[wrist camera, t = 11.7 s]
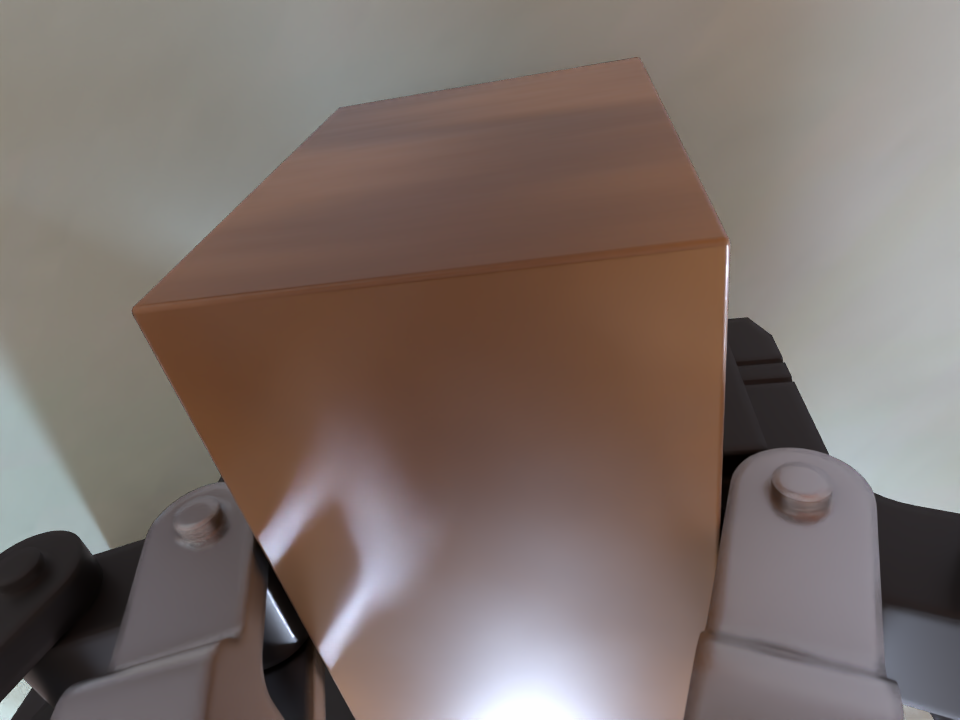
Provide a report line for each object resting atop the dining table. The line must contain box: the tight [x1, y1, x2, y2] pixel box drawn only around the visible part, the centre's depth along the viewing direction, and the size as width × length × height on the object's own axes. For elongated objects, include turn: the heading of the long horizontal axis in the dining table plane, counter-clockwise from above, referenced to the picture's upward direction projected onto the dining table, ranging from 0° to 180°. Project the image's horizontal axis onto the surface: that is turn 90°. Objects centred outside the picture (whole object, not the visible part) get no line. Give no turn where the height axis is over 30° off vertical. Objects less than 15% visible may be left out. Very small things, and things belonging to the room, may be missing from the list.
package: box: [132, 57, 731, 720], centre depth 9 cm, size 4×8×6 cm, turn 10°
